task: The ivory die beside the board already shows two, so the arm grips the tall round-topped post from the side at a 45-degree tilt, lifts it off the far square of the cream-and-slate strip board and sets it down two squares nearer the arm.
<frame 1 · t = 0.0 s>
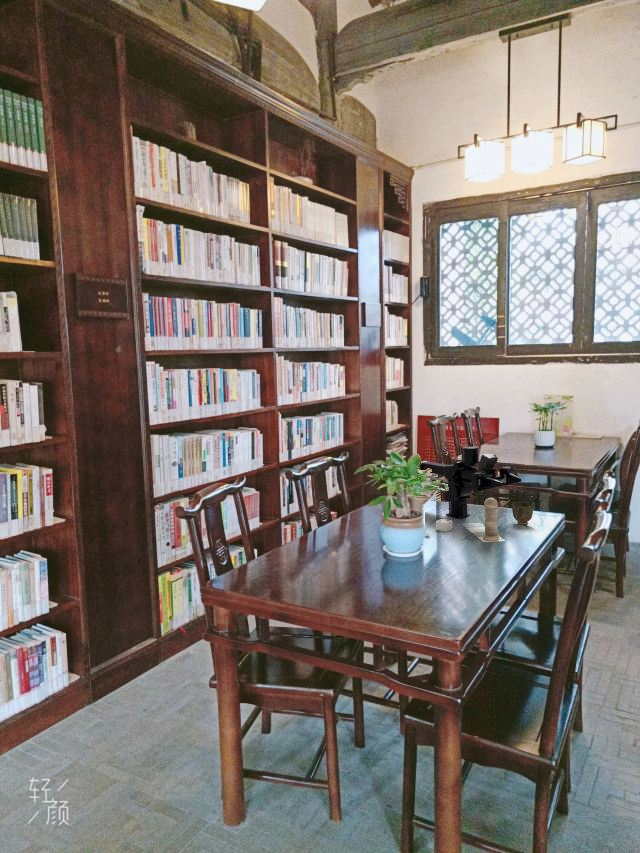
hand: (512, 482, 206), 17 cm above the table, tool horizontal, fingers open, 9 cm apart
die: (444, 532, 208), on the table
round-topped post: (491, 539, 195), point 1 cm above the table, touching board
cup: (522, 525, 213), on the table
board: (482, 534, 203), on the table
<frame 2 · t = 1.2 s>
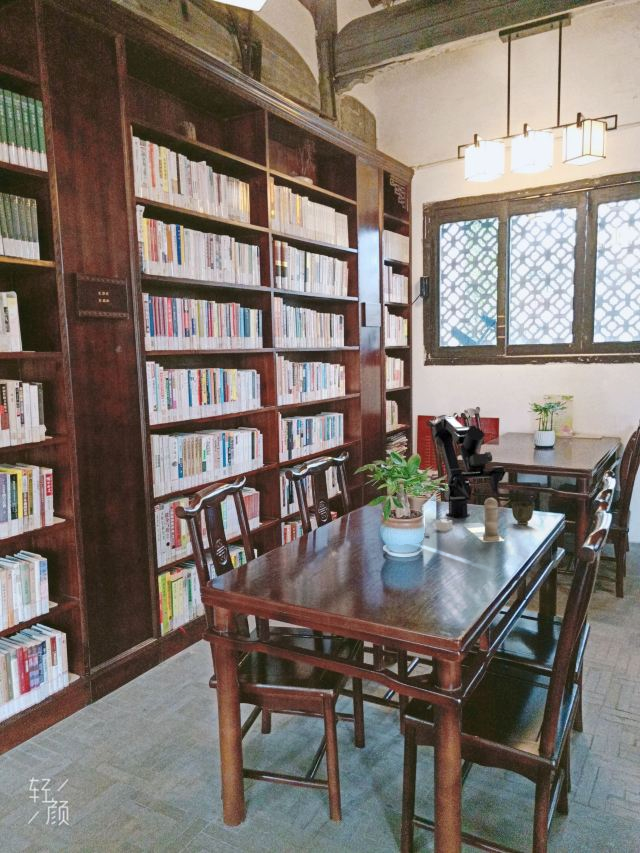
hand: (482, 496, 201), 13 cm above the table, tool tilted 45°, fingers open, 9 cm apart
nothing on the table moved.
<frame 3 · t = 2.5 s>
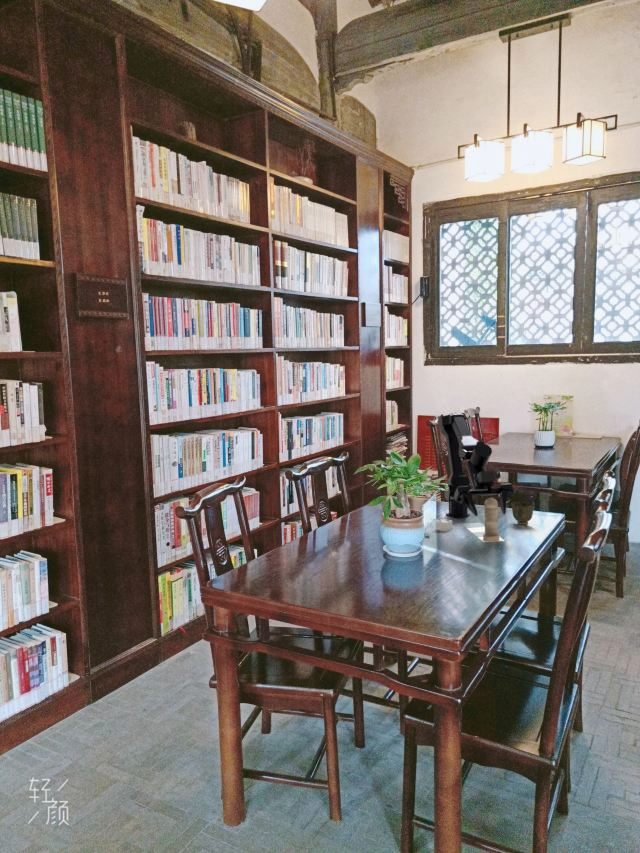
hand: (490, 514, 194), 9 cm above the table, tool tilted 45°, fingers open, 9 cm apart
nothing on the table moved.
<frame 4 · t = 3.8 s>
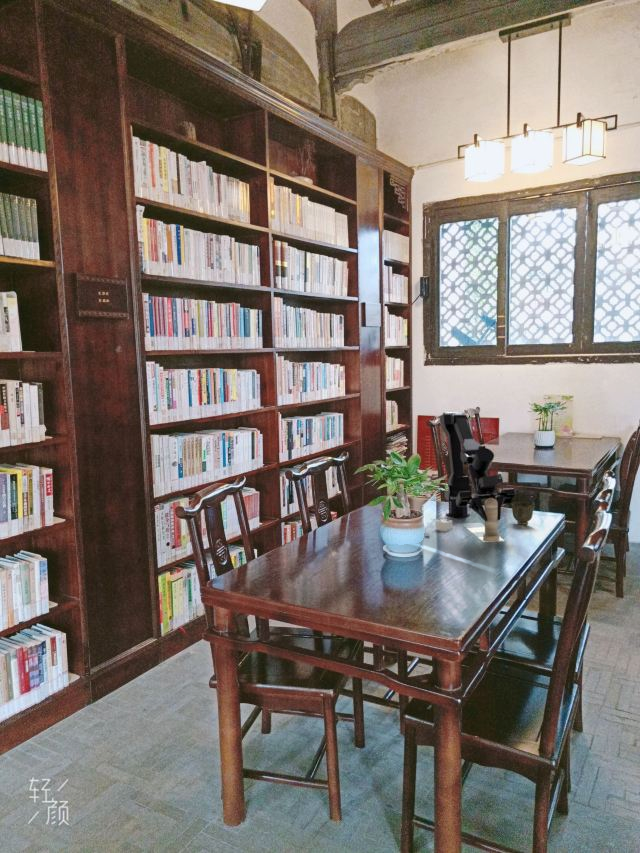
hand: (492, 520, 193), 8 cm above the table, tool tilted 45°, fingers closed on round-topped post, 4 cm apart
round-topped post: (491, 539, 195), point 1 cm above the table, touching board, gripper
everything else where it was.
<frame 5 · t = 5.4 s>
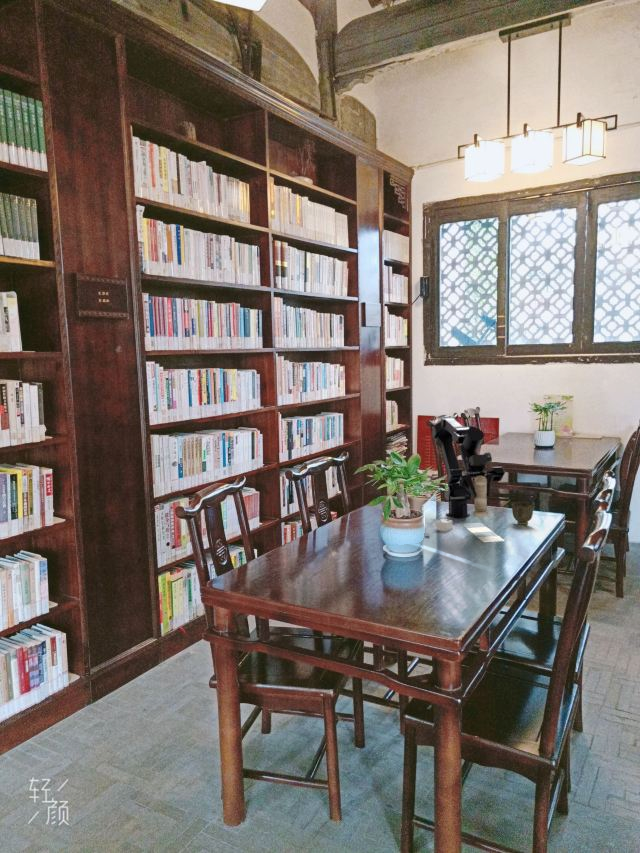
hand: (481, 496, 202), 13 cm above the table, tool tilted 45°, fingers closed on round-topped post, 4 cm apart
round-topped post: (480, 514, 204), point 6 cm above the table, touching gripper
everything else where it was.
when the fingers open (8 cm above the table, at t = 7.0 s): round-topped post stays where it is, resting on board.
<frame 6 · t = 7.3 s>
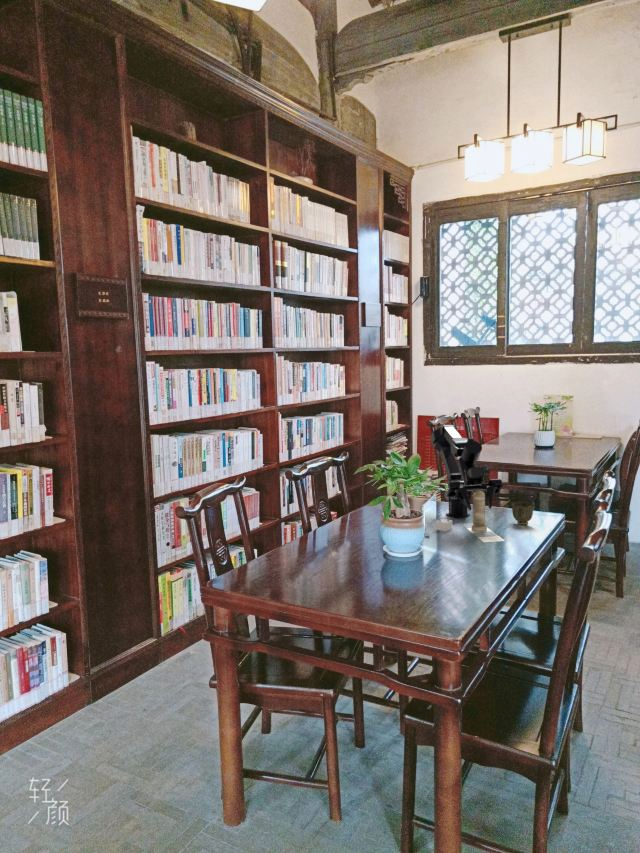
hand: (480, 508, 204), 9 cm above the table, tool tilted 45°, fingers open, 7 cm apart
round-topped post: (479, 529, 206), point 1 cm above the table, touching board
everything else where it was.
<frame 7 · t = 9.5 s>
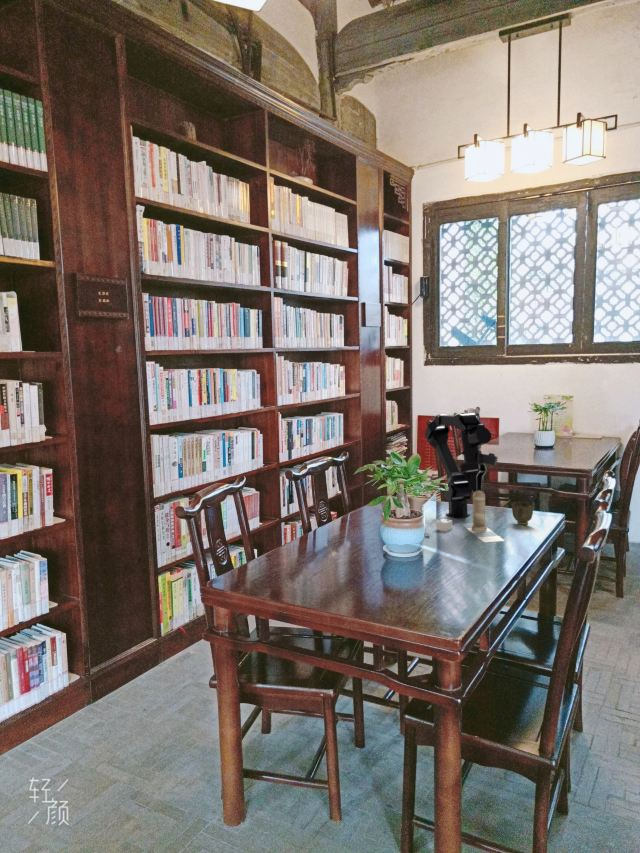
hand: (477, 491, 213), 12 cm above the table, tool tilted 15°, fingers open, 9 cm apart
nothing on the table moved.
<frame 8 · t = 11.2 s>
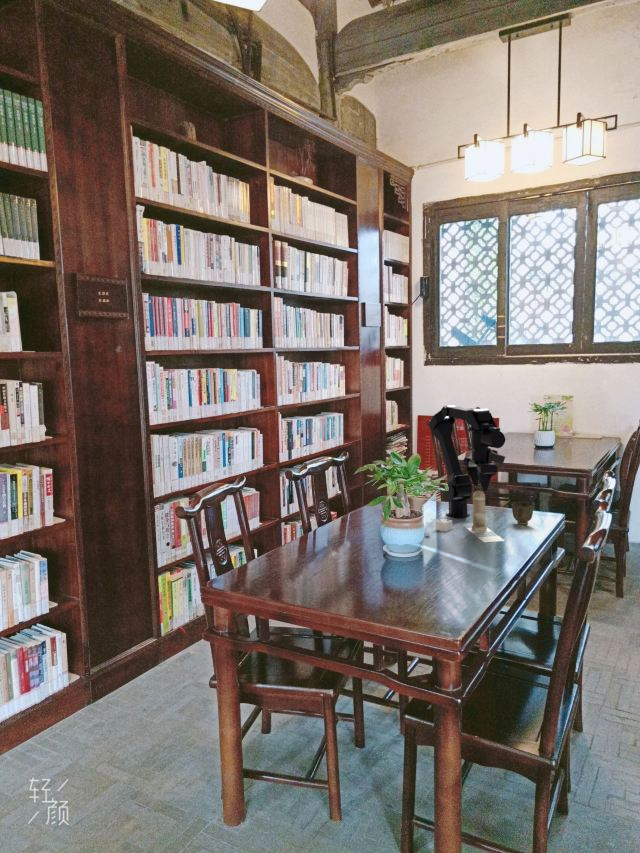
hand: (480, 488, 214), 13 cm above the table, tool pointing down, fingers open, 9 cm apart
nothing on the table moved.
at the end: round-topped post 0.0 cm from the target spot, point 1.0 cm above the table; round-topped post tilted 0°; the gripper is holding nothing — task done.
